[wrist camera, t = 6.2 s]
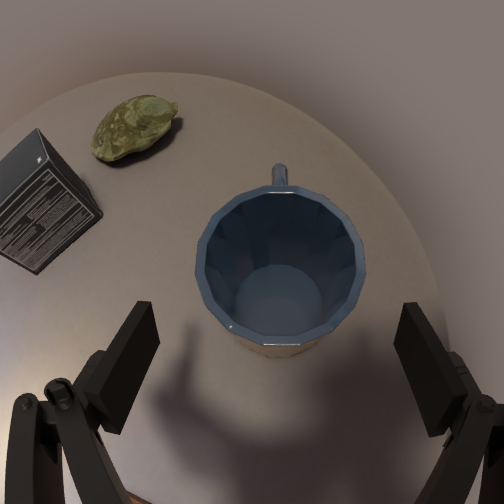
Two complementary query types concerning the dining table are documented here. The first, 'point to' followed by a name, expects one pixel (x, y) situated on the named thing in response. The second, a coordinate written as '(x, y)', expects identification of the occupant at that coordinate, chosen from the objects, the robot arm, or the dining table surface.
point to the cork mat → (136, 499)
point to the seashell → (132, 127)
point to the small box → (40, 204)
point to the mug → (280, 267)
